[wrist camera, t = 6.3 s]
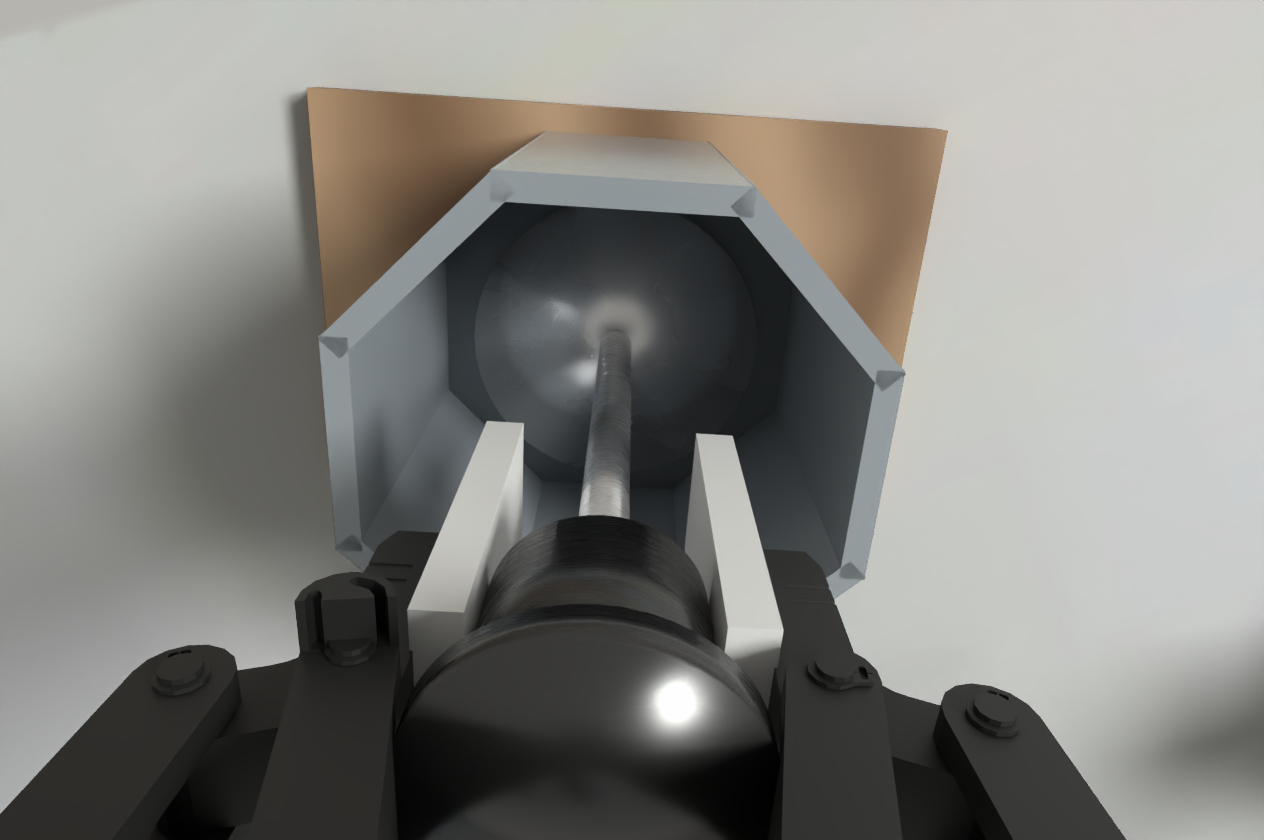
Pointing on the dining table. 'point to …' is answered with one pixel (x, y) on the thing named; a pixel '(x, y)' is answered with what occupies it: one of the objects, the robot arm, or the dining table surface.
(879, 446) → the grey octagonal pot
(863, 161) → the board
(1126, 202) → the dining table surface
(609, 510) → the plunger
